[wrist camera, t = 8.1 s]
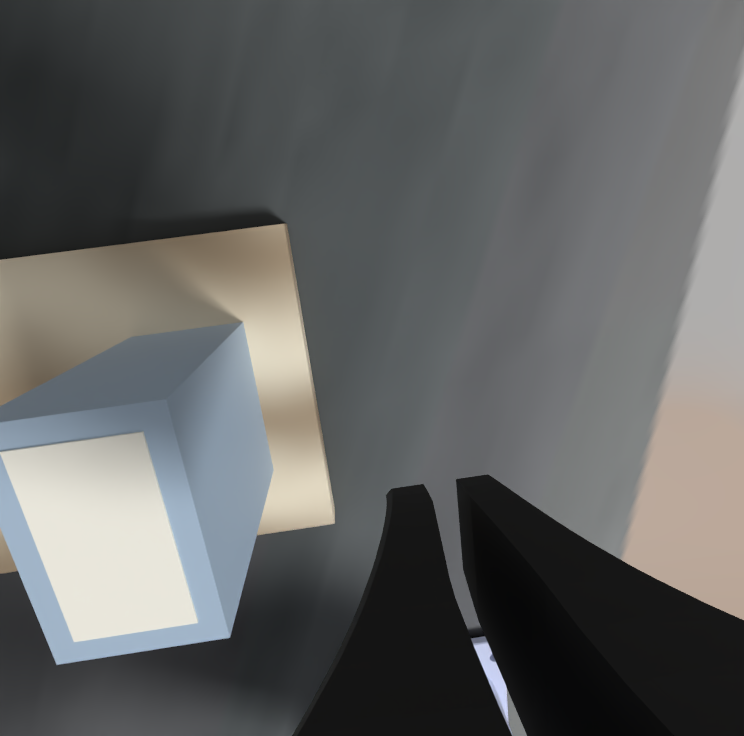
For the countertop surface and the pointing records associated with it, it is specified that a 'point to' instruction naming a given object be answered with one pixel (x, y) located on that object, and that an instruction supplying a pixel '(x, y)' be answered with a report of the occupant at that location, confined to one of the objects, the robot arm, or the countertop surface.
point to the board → (174, 313)
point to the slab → (137, 492)
